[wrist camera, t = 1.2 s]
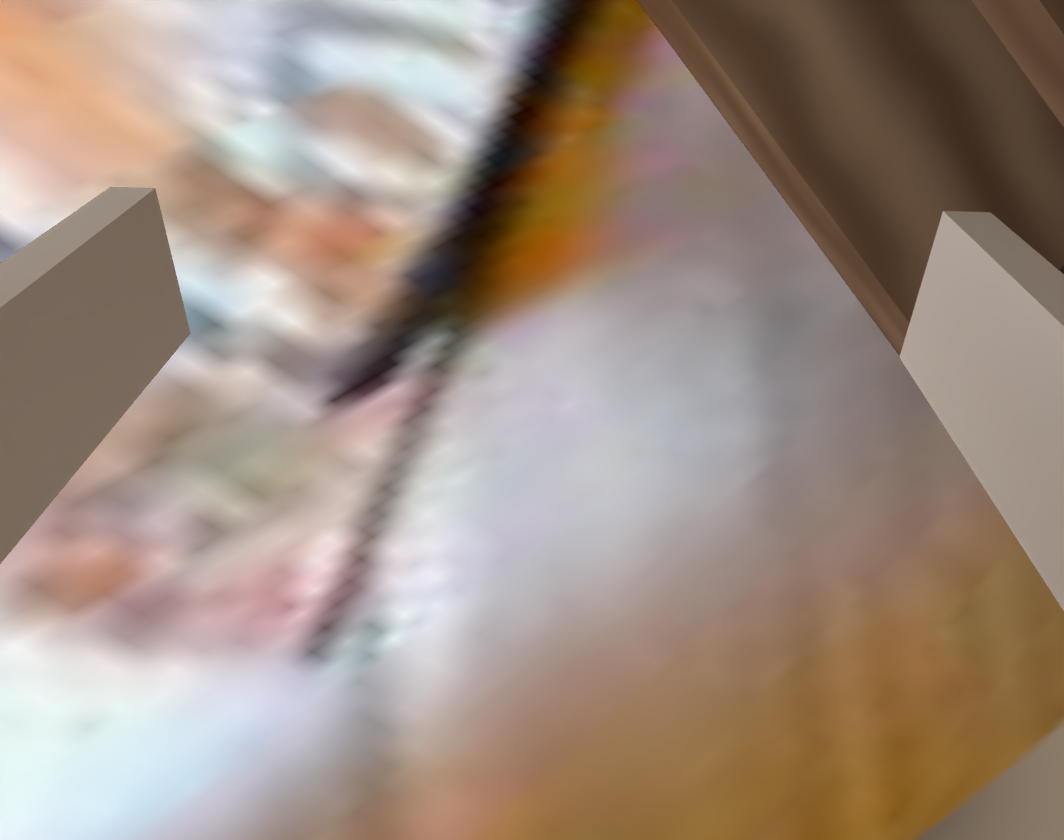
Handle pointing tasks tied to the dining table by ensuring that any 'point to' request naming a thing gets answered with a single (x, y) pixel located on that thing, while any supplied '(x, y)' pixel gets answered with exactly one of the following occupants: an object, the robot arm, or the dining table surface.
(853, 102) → the walnut shelf
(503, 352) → the dining table surface
